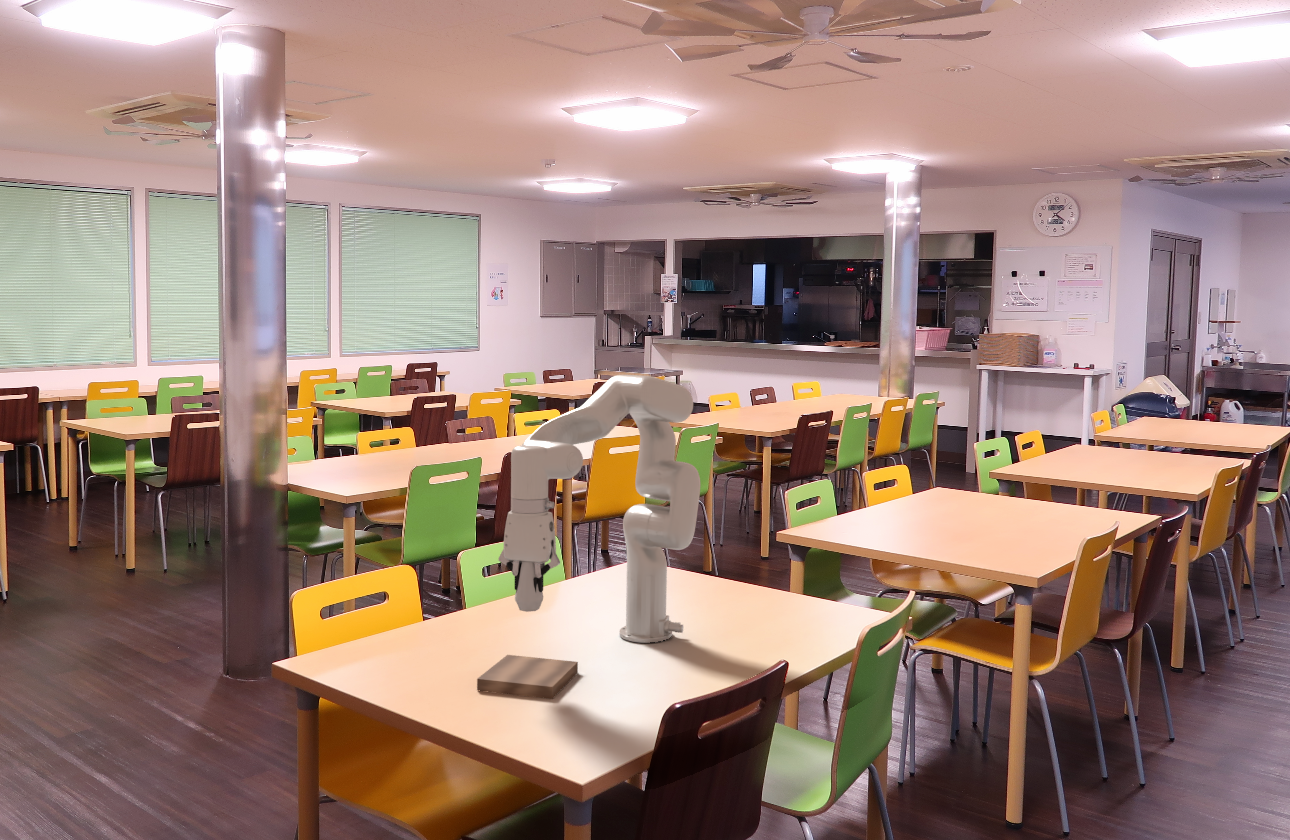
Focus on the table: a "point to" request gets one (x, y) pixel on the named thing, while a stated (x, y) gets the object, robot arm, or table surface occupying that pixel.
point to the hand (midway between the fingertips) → (528, 593)
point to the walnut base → (528, 676)
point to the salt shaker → (528, 589)
